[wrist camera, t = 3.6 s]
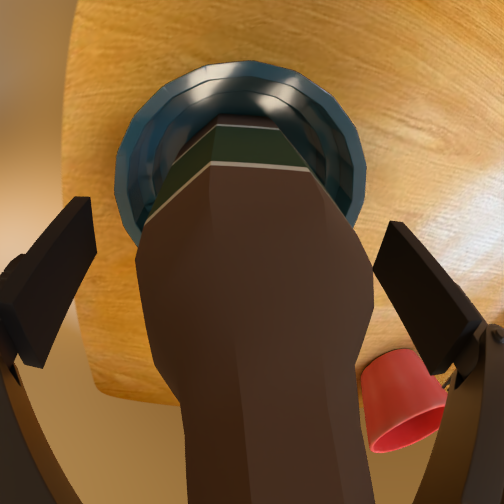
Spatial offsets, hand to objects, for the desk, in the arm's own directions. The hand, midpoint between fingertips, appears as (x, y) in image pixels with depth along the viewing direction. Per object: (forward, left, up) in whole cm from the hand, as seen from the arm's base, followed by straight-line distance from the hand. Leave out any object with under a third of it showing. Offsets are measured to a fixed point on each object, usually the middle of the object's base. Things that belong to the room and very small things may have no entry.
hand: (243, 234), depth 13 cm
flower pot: (+30, +7, -9) cm, 32 cm away
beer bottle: (0, 0, -9) cm, 9 cm away
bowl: (0, 0, -9) cm, 9 cm away
